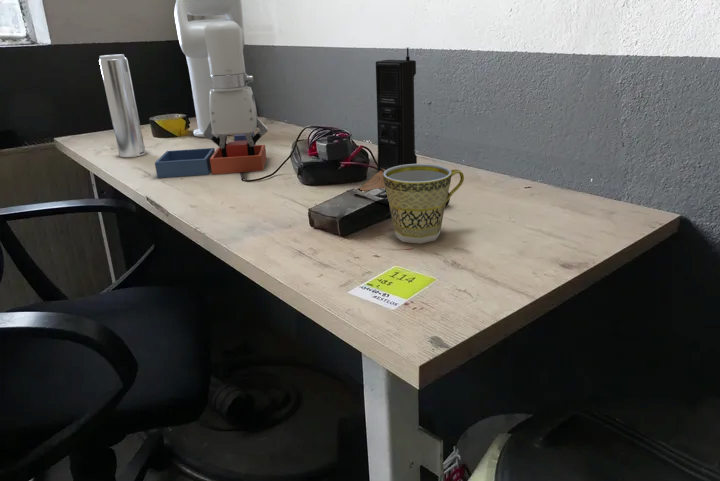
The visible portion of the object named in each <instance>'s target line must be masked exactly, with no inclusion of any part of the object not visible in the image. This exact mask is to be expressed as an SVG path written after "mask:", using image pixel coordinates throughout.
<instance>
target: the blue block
mask: <svg viewBox="0 0 720 481" xmlns="http://www.w3.org/2000/svg"><path fill="white" fill-rule="evenodd" d="M252 134H253V136H255V134H256V133H255V132H254V133H252ZM244 140H247V138H246V136H245V134H238V135H233V141H244ZM255 145H257V143H256V144H255Z"/></svg>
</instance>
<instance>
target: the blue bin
mask: <svg viewBox="0 0 720 481" xmlns="http://www.w3.org/2000/svg"><path fill="white" fill-rule="evenodd" d="M215 151H216V149H215V147H210V148H209V147H207V148H206V147H205V148H189V149H176V150H166V152H164V153H163V154H162V155H161V156H160V157H159V158H158V159H157V160H156V161H155V162H154V165H155V166H154V167H155V171H156V172H155V173H156V178H157V179H162V178H177V177H178V178H179V177H192V176H205V175H207V176H208V175H209V174H210V173H211V172H212V170H211V163H210V158H211V157H212V155H213V154H214V152H215Z"/></svg>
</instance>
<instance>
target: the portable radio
mask: <svg viewBox="0 0 720 481" xmlns="http://www.w3.org/2000/svg"><path fill="white" fill-rule="evenodd" d="M409 49H410V48H409V47H406V56H405V59H383V60H376V61H375V87H376V89H375V91H376V92H375V93H376V120H377V121H376V122H377V124H376V126H377V128H376V129H377V172H379V171H380V168H382V169H385V170H387V169H389V168H392V167H395V166H400V165H406V164H418V156H417V154H416V145H415V144H416V139H415V138H416V137H415V136H416V135H415V133H416V131H415V76H416V74H417V61H416V60H415V59H411V56H409V55H410V52H409Z"/></svg>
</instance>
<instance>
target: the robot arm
mask: <svg viewBox="0 0 720 481" xmlns="http://www.w3.org/2000/svg"><path fill="white" fill-rule="evenodd" d="M188 16H194V17H195V16H196V17H206V16H225V18H215V19H211V18H208V19H196V20H195V19H194V20H190V21H189V19H188ZM174 22H175V28H176V33H177V39H178V42H179V46H180V49H181V52H182V53H183V54H184V55H185V58H186V64H187V67H188V73H189V79H190V85H191V92H192V99H193V105H194V111H195V117H196V123H197V128H195V129H194V130H193V136H194V137H198V138H207V139H208V140H210V141H212V142H213V143H214V144H215V145H217V147H218V148H221V150H222V157H227V151H226V145H227V143H228V136H234V135H238V134H245V136H246V138H247V141H248V147H247V149H248V156H254V155H255V148H254V145H255V144H256V145H257V142H258V141H259V140H260V139H261V138H262V137H263V136H265V135H266V134H267V133H268V131H269V128H268V127H267V126H266V125H265V124H264V123H263V121H262V120H260V119H259V117H258V112H257V105H256V100H255V96H254V92H253V90H252V87H251V86H248V84H250V83H253V82H254V76H253V75H249V74H247V72H246V66H245V58H244V56H245V55H244V48H245V30H244V28H245V27H244V16H243V6H242V0H175V4H174ZM257 129H259V131H257ZM256 131H257V132H256ZM255 132H256V133H255ZM252 133H255V136H253V134H252Z"/></svg>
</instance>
